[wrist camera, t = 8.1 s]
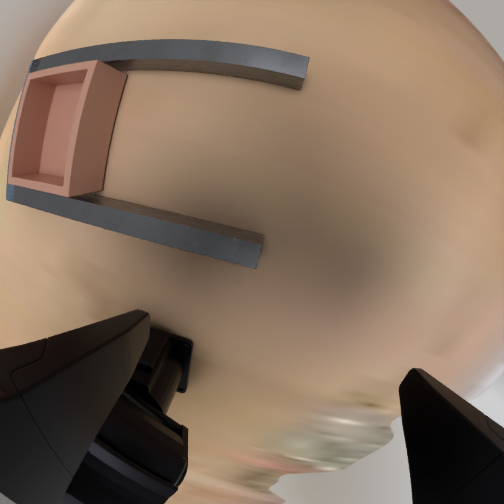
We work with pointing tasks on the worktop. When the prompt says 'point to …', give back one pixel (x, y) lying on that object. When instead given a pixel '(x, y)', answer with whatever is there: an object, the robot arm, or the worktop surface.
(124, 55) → the crate bay
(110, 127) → the crate
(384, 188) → the worktop surface
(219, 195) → the worktop surface
